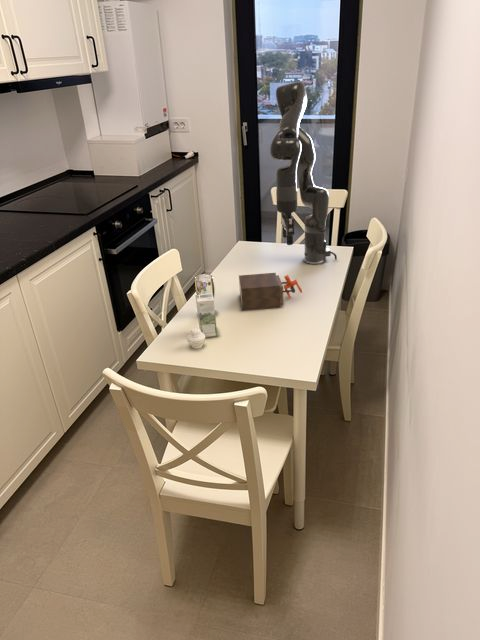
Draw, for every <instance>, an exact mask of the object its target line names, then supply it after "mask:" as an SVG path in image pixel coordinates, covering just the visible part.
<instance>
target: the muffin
mask: <svg viewBox="0 0 480 640" xmlns="http://www.w3.org/2000/svg"><path fill="white" fill-rule="evenodd" d="M186 340H187V342H188V344H189V346H191V348H193V349H195V350H199V349H201V348H202V347H203V345H204V343H205V340H206V338H205V335H204V334H203V333H202V332H201V330H200V329H199V327H193V328H191V329H190V331H189V333H188V335H187V336H186Z"/></svg>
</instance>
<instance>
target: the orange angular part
mask: <svg viewBox="0 0 480 640" xmlns="http://www.w3.org/2000/svg"><path fill="white" fill-rule="evenodd" d="M284 279H285V282H287V284H283V290H284V291H285V290H289V289H290V287H292V286H294V287H295V285H296V287H297V289H298V291H299V293H300V294H301V293H303V290H302V288H301V285H300V284H299V282H298V280H297V279H293V280H291V278H290V275H288V274H287V275H285V276H284ZM291 281H292V282H291ZM285 294H286V295H287V297H288V298H289V299H291V298H292V295H291V292H285Z"/></svg>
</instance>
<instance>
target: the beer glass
mask: <svg viewBox="0 0 480 640" xmlns="http://www.w3.org/2000/svg"><path fill="white" fill-rule="evenodd" d="M194 285H195V295H200V294H208V293H212V296H213V299H214V300H215V296H216V295H215V294H216V291H215V290H216V288H215V287H216V286H215V281H214V276H213V275H212V274H210V273H209V274H208V273H202V274H197V275H196V276H195V277H194ZM215 315H217V311H216V310H215Z"/></svg>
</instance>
